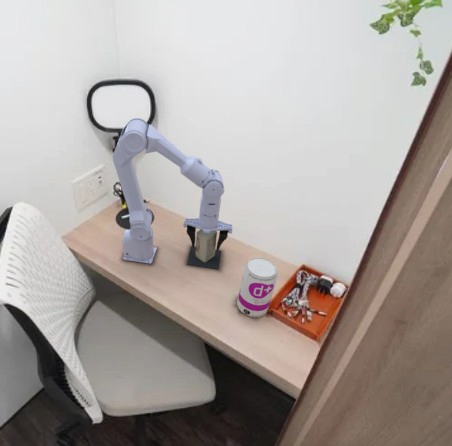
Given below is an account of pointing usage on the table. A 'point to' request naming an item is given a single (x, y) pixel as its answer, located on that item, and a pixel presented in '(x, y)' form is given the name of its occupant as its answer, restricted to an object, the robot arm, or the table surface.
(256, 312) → the supplement can
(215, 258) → the pad
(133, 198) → the robot arm
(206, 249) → the product carton box
